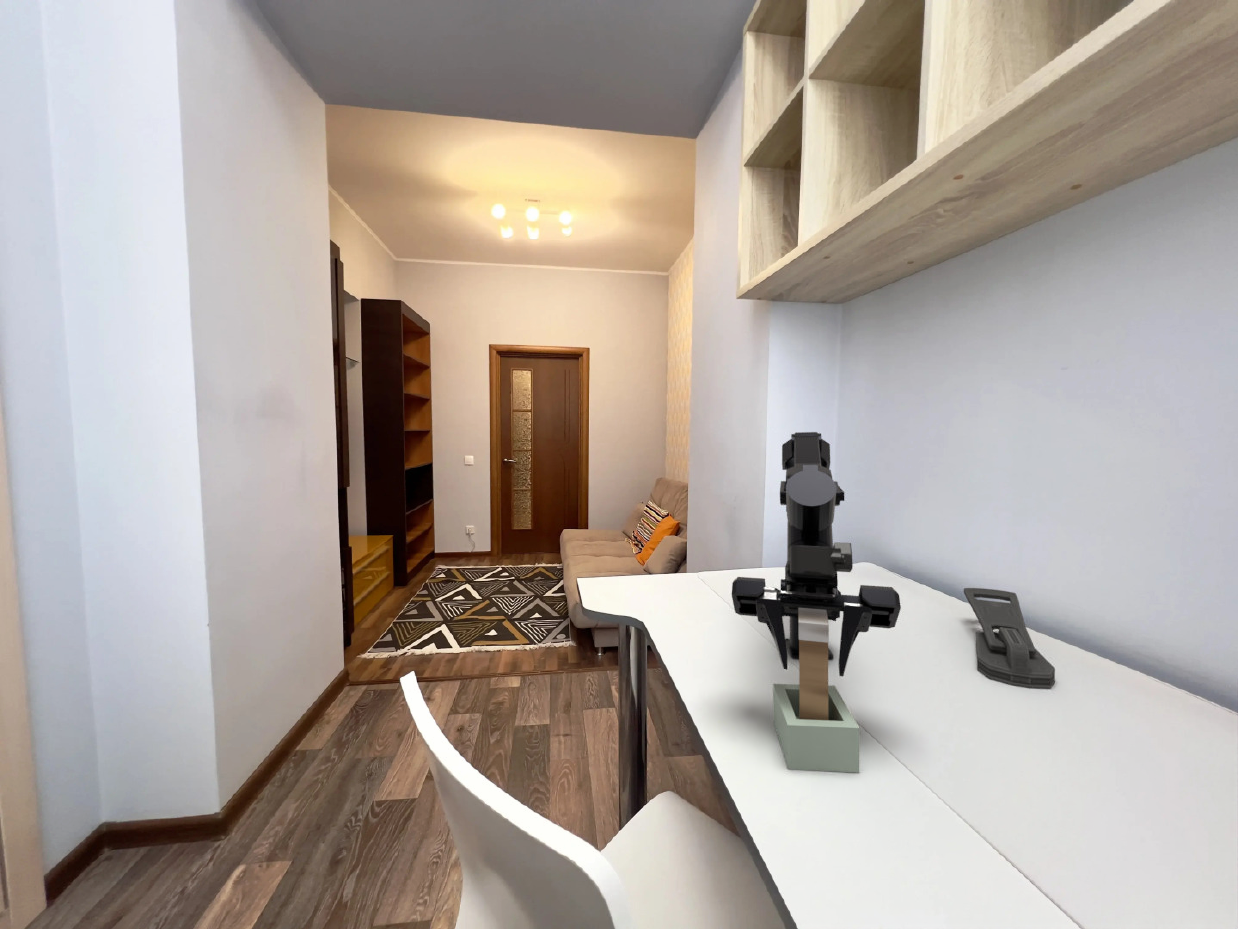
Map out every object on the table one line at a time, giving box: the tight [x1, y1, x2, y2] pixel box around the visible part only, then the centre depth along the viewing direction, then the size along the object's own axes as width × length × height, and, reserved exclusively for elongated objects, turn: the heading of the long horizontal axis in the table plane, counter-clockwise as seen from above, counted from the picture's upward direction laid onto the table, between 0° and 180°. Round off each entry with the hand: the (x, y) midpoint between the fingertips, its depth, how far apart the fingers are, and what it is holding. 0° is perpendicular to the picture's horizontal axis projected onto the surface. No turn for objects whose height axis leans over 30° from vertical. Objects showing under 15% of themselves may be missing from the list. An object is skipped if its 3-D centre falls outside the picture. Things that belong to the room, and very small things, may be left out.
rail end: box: [798, 608, 830, 720], centre depth 59 cm, size 5×3×14 cm, turn 161°
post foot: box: [772, 683, 860, 773], centre depth 59 cm, size 9×7×5 cm
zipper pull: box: [963, 587, 1056, 690], centre depth 81 cm, size 9×7×25 cm
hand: (812, 671), depth 57 cm, fingers open, 6 cm apart
